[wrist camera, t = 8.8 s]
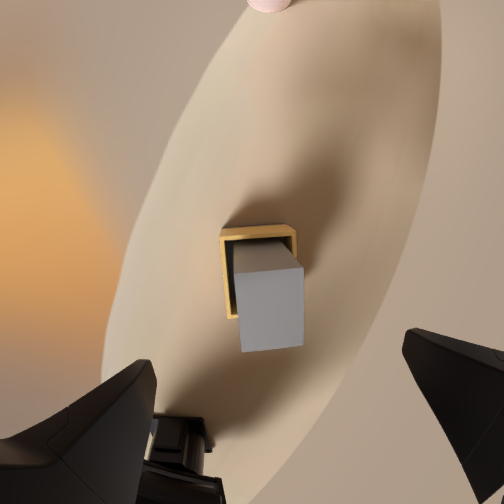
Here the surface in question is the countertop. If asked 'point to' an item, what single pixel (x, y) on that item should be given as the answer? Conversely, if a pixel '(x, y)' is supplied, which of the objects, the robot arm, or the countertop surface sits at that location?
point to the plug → (268, 294)
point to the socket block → (227, 253)
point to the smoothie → (269, 5)
